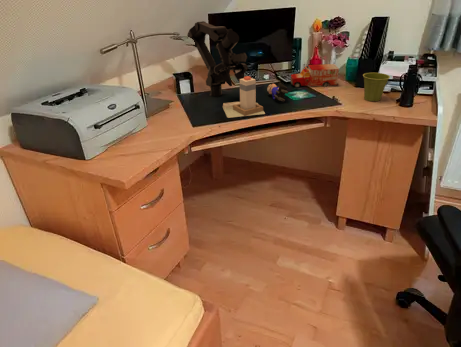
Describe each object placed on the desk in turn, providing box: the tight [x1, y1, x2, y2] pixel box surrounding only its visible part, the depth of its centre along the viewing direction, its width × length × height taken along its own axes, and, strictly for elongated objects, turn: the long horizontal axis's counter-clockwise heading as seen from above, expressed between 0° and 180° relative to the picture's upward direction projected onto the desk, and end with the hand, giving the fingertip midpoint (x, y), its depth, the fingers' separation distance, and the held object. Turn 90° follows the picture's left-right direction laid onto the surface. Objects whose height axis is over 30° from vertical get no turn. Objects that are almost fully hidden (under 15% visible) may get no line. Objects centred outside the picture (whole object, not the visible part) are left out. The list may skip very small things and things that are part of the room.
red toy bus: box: [290, 63, 340, 88], centre depth 190 cm, size 11×25×10 cm, turn 89°
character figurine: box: [266, 82, 289, 102], centre depth 173 cm, size 8×7×15 cm
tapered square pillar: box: [238, 75, 257, 110], centre depth 156 cm, size 5×5×15 cm
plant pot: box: [362, 72, 391, 102], centre depth 166 cm, size 12×12×11 cm
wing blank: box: [222, 101, 240, 110], centre depth 164 cm, size 3×8×2 cm, turn 100°
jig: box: [222, 102, 266, 119], centre depth 160 cm, size 15×17×3 cm
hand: (237, 85), depth 161 cm, fingers open, 9 cm apart
